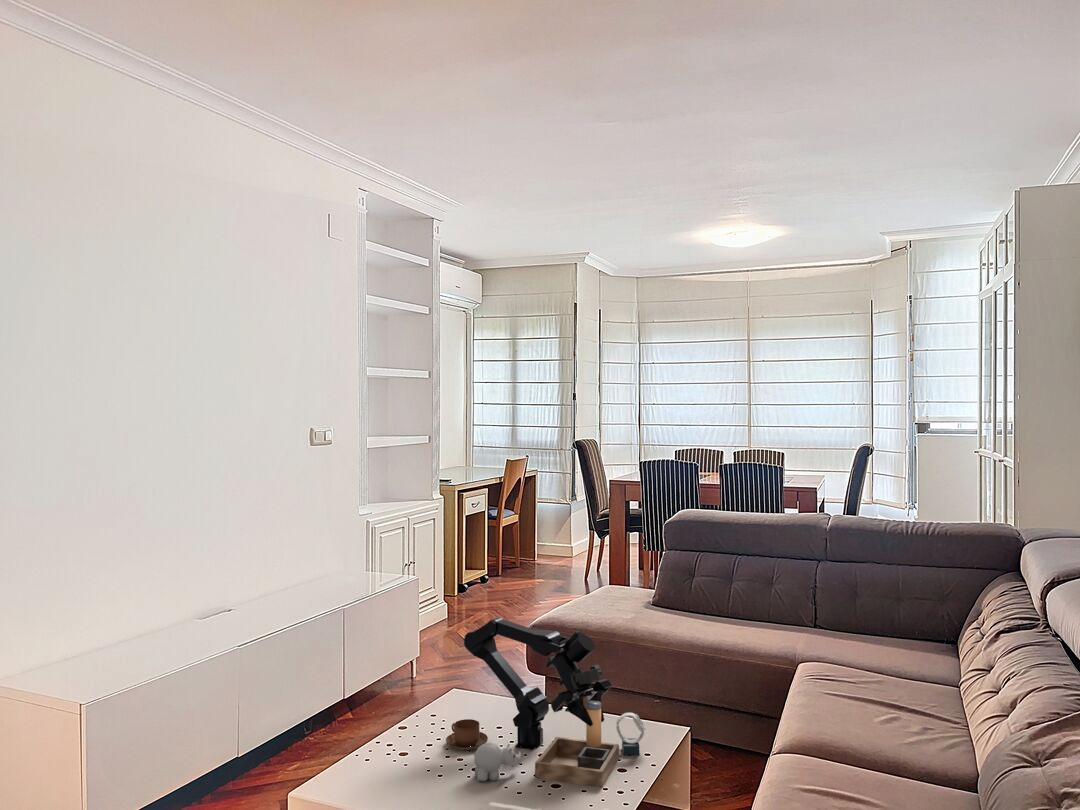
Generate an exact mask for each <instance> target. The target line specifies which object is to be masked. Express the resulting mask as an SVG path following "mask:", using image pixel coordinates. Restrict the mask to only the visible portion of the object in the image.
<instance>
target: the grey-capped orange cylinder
mask: <svg viewBox="0 0 1080 810" xmlns="http://www.w3.org/2000/svg"><path fill="white" fill-rule="evenodd" d="M585 705H586V706H585V709H586V711H587V712H588V714H589V716H590V718H591V720H592V723H593V725H592V726H589V725H588V724H586V723H585V724H586V726H585V727H586V732H585V733H586V737H585V738H586V739H585V740H586V744H587V746H590V747H599V746H601V742H602V722H601V705H602V701H601V702H599V701H588V700H587V701H586V704H585Z"/></svg>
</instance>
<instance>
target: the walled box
mask: <svg viewBox="0 0 1080 810" xmlns="http://www.w3.org/2000/svg"><path fill="white" fill-rule="evenodd" d="M619 760H620V745H619V744H618V743H611V742H610V743H609V742H602V741H601V746H599V747H590V746H587V744H586V739H577V738H569V737H560V736H555V737H554V739H553V740H552V741H551V743H550V744H549V745H547V748H545V750H544V751H543V752H542V754H541V755H540V756H538V758H537V760H536V761H535V762H534V779H539V780H546V781H555V782H561V783H567V784H575V785H581V786H582V785H583V786H590V787H597V788H603V787H604V786H605V784H606V782H607V781H608V779H609V777H610V776H611V774H612V772H613V770H614V769H615V767H616V765H617V763H618V761H619Z"/></svg>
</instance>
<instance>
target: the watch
mask: <svg viewBox="0 0 1080 810" xmlns="http://www.w3.org/2000/svg"><path fill="white" fill-rule="evenodd" d="M627 717H632V720H633V722H634V724H635V726H636V727H637V729H638V731H640V732H641V733H640V735H639V736H638V737H636V738H635V737H631V738H628V737H627V738H625V736H624V734H623V733H622V731H621V729H620V725H619V724H620V722H621V721H622V720H623V719H624V718H627ZM645 731H646V728H645V725H644V723H643V722H642V720H641V718H640V716H639V715H638V714H637V713H634V712H624V713H622V714H621V715H620V716H619V717H618V718H617V720H616V732H617V733H618V736H619V738H620V739H621V749H622V752H623V756H640V754H641V753H640V743H639V742H640V741H642V739H644V736H645Z"/></svg>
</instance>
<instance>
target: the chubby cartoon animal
mask: <svg viewBox="0 0 1080 810" xmlns="http://www.w3.org/2000/svg"><path fill="white" fill-rule="evenodd" d="M475 750H476V751H475V752H474V753H473V757H474V758H473V761H474V764H475V769H474V775H475V777H476V779H477V781H478V782H486V781H487V780H488V779H489V780H490V781H493V782H495V781H498V780H499V778H500V771H499V770H500V768H501V767H502V765H503V766H510V765H511V766H512V767H517V766H519V764H520V762H521V760H520V759H521V757H522V753H521V751H518V753H516V752H515V751H514V749H513V748H511V747H510V743H508V744H507V746H506V747H504V748H503V749H501V748H500V747H499V745H497V744H495V743H492V742H486V743H485V744H482V745H481V746H480V747H479V748H477V749H475Z"/></svg>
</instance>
